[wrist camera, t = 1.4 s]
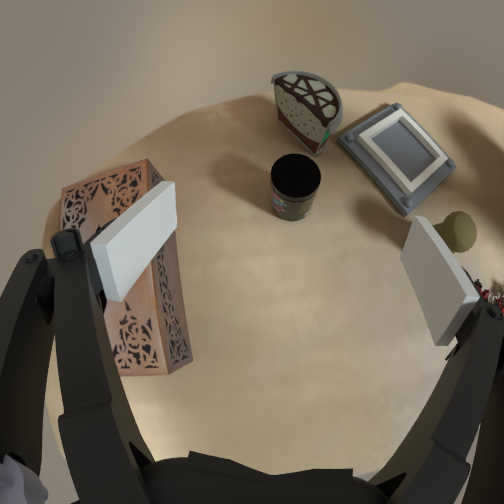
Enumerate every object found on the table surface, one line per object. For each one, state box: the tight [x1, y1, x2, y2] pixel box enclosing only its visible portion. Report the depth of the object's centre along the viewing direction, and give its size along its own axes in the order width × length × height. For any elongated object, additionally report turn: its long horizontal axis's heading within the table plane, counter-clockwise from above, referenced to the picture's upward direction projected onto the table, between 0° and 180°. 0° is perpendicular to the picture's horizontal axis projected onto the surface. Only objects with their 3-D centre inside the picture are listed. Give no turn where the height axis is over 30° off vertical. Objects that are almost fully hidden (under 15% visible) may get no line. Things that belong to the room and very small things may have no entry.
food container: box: [271, 71, 343, 157], centre depth 38 cm, size 12×6×10 cm, turn 37°
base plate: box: [337, 102, 456, 217], centre depth 39 cm, size 16×16×3 cm
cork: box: [433, 211, 477, 254], centre depth 32 cm, size 6×6×11 cm
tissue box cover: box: [59, 159, 193, 376], centre depth 35 cm, size 26×14×10 cm, turn 10°
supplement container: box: [271, 154, 321, 221], centre depth 36 cm, size 6×6×9 cm
